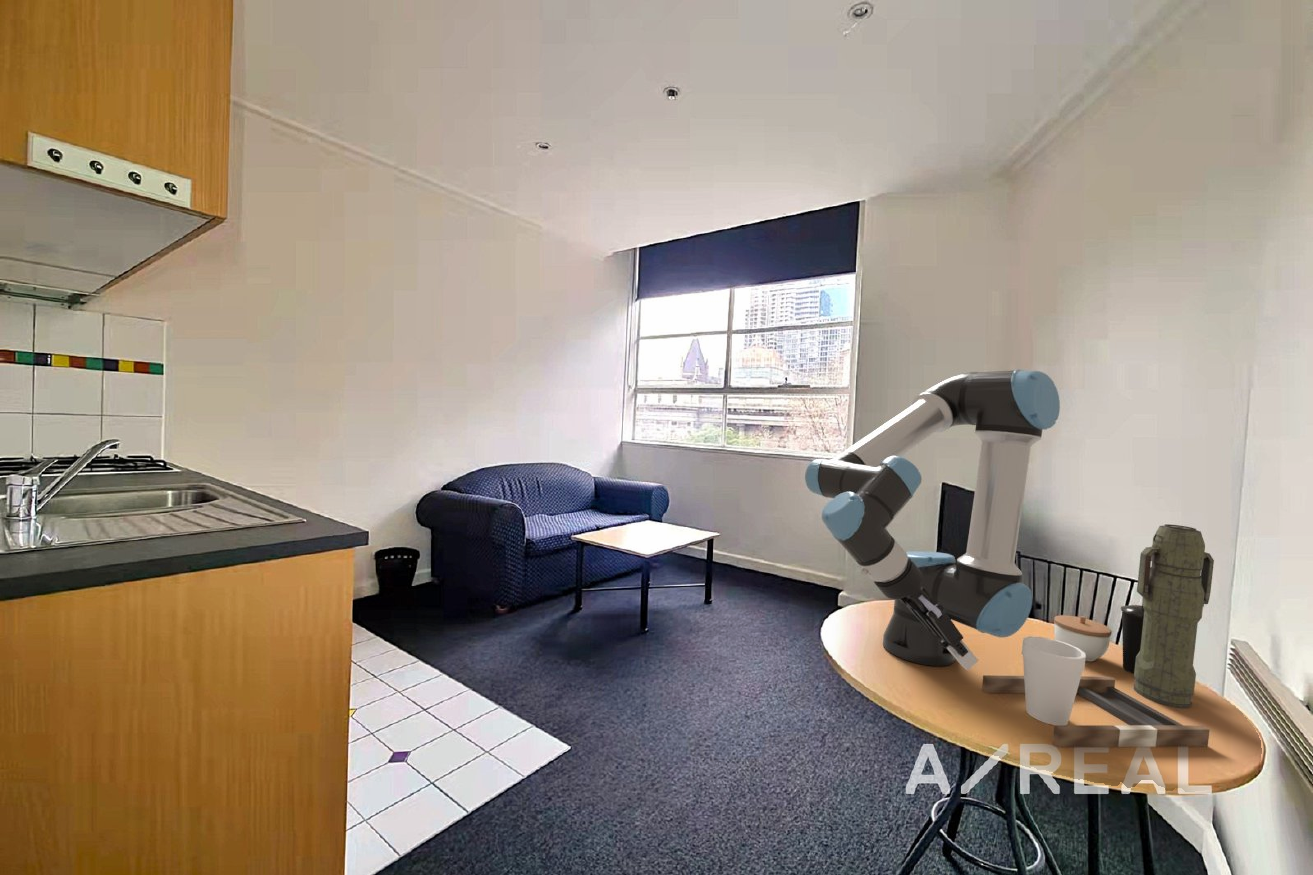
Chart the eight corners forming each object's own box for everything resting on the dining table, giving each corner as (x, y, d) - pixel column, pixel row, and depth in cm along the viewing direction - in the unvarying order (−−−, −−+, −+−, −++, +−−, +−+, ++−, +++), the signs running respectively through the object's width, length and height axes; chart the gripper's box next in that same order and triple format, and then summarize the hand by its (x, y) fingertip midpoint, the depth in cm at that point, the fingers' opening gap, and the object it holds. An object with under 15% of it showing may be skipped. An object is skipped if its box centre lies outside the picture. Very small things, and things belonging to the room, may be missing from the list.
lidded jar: (1087, 648, 134) (1091, 610, 133) (1120, 668, 123) (1124, 628, 122) (1041, 643, 135) (1045, 606, 134) (1069, 663, 124) (1073, 623, 123)
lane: (1058, 747, 90) (1060, 729, 90) (981, 689, 109) (983, 675, 108) (1207, 746, 93) (1209, 729, 93) (1108, 691, 111) (1109, 676, 111)
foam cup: (1060, 735, 94) (1068, 662, 93) (1005, 708, 102) (1012, 640, 101) (1089, 724, 98) (1096, 653, 98) (1034, 698, 106) (1040, 633, 106)
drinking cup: (1107, 666, 124) (1116, 579, 123) (1126, 661, 127) (1135, 577, 126) (1148, 682, 117) (1158, 590, 116) (1167, 677, 120) (1177, 588, 119)
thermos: (1114, 682, 115) (1131, 520, 114) (1172, 688, 115) (1190, 524, 113) (1149, 705, 107) (1167, 529, 105) (1212, 711, 106) (1232, 533, 104)
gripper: (857, 571, 102) (933, 660, 104) (894, 595, 89) (980, 696, 91) (886, 545, 102) (962, 634, 104) (927, 565, 89) (1012, 666, 91)
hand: (970, 663), depth 98 cm, fingers closed
